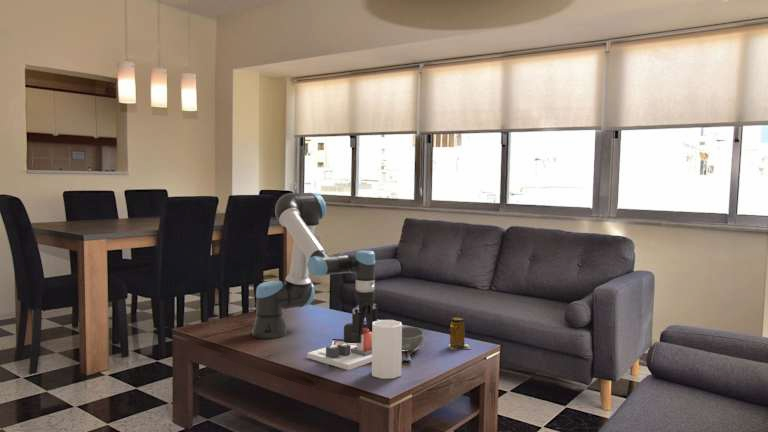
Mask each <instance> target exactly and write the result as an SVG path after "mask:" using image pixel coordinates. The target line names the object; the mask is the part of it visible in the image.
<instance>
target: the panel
mask: <svg viewBox="0 0 768 432" xmlns="http://www.w3.org/2000/svg"><path fill="white" fill-rule="evenodd" d="M340 344H347V345H350V355H347V356H343V355H339V357H336V358H330V357H327V356H326V347H327V346H326V347H325V346H324V347H322V348H319V349H316V350H313V351H309V352H307V353H306V354H307V356H306V357H307V359H309V360H310V359H311V360H312V361H313V360H314V361H317V362H320V363H323V364H327V365H329V366H333V367H337V368H340V369H344V370H346V371H351V370H353V369H356V368H359V367H362V366H364V365H368V364H369V363H372V349H371V350H370V351H367V352H364V351H360V350H357V346H356V345H352V344H348V343H344V341H342V342H340V343H336V344H333V345H331V346H336V347H338V345H340Z"/></svg>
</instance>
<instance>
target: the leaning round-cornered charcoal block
mask: <svg viewBox="0 0 768 432" xmlns="http://www.w3.org/2000/svg"><path fill="white" fill-rule="evenodd" d="M363 328H367V322H366V320H364V325H363ZM343 342H345V343H357V342H356V334H354V333H352V322H350V323H346V324H345V325H344V326H343Z"/></svg>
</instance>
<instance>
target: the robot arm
mask: <svg viewBox="0 0 768 432" xmlns="http://www.w3.org/2000/svg"><path fill="white" fill-rule="evenodd" d="M276 201H277V202H276V203H275V206H274V207H275V208H274V214H275V217H276V220H277V222H278V223H279V224H280V225H281V226H282V227H285V229H286V230H287V232H288V233H289V234H290V236H291V237H292V238H293V245H292V253H291V259H290V260H291V261H290V265H289V266H290V267H289V273H288V275H287V276H286V277H285V280H284V283H283V282H282V281H281V280H270V281H263V282H262V283H259V285H257V286H256V289H255V302H256V303H255V305H256V306H255V308H256V310H255V313H256V314H255V319H254V323H253V328H252V331H251V334H252V337H254V338H256V339H257V338H258V339H265V340H266V339H277V338H281V337H284V336H287V327H286V324H285V323H286V322H285V320H284V316H283V310H287V309H295V308H302V307H306V306H307V307H308V306H309V305H310V304H311V303H312V302H313V301H314V298H315V292H316V290H315V287H314V286H315V285H314V284H313V282H312V280H311V278H310V277H309V274H310V275H311V276H312V277H313V276H314V277H317V276H319V277H320V276H321V277H324V276H328V275H338V274H347V273H348V274H349V273H351V274H355V290H356V291H355V300H356V302H357V303H356V305H355V306H356V307H354V308H351V310H350V311H351V316H352V318H351V321H352V322H351V323H352V333H354V334H356V342H357V350H360V351H363V340H364V335H362V331H363V325H364V321H366V322H367V328H369V331H371V332H372V322H374V321H378V310H379V304H377V303H374V301H375V298H376V295H375V294H376V292H375V289H376V288H375V286H376V283H375V282H376V255H375V252H374V251H373V250H357V251H356V252H355V254H354V253H350V252H342V253H339V254H330V255H329V254H328V253H327V251H326V250H325V249H324V247H323V246H322V245H321V243H320V242H319V240H318V239H317V238H316V235H315V229H316V227H318V226H319V225H320V220H322V219H323V218H325V216H326V214H327V205H326V201H325V200H324V198H323V196H322V195H321V194H319V193H313V192H290V193H289V192H288V193H285V194H283V195H282V196H280V197H279V198H278V200H276ZM371 349H372V348H371Z"/></svg>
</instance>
